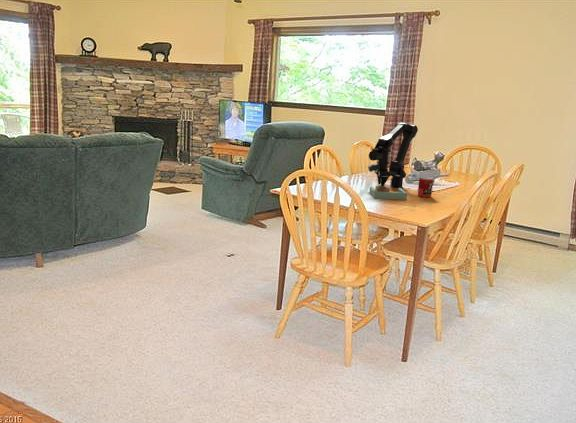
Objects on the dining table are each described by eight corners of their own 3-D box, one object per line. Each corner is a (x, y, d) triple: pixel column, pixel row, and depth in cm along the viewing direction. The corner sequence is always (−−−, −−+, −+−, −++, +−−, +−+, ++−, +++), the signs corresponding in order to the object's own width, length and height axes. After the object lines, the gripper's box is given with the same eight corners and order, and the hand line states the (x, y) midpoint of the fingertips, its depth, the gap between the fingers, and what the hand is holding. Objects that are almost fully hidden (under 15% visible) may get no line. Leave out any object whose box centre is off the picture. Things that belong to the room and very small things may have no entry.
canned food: (423, 198, 296) (426, 178, 293) (414, 195, 303) (416, 176, 300) (434, 197, 299) (436, 178, 297) (424, 194, 306) (426, 175, 304)
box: (400, 194, 304) (401, 188, 303) (406, 199, 290) (407, 193, 289) (369, 192, 303) (369, 186, 302) (373, 198, 289) (374, 192, 288)
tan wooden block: (386, 191, 311) (387, 186, 310) (389, 194, 304) (389, 188, 303) (375, 191, 311) (375, 185, 310) (377, 193, 304) (377, 187, 303)
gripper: (366, 156, 320) (364, 182, 324) (372, 161, 302) (369, 188, 306) (385, 157, 320) (382, 182, 324) (391, 162, 302) (389, 189, 306)
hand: (380, 185), depth 315 cm, fingers open, 9 cm apart
